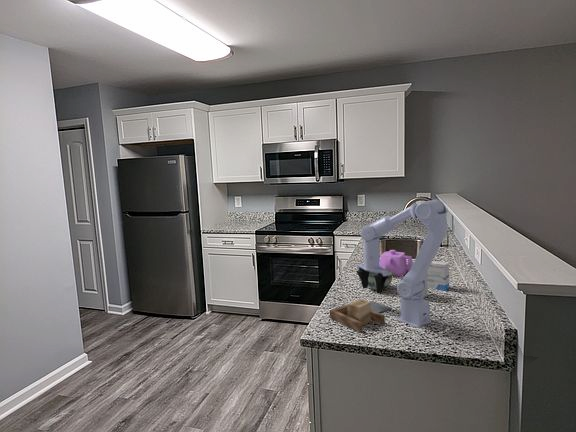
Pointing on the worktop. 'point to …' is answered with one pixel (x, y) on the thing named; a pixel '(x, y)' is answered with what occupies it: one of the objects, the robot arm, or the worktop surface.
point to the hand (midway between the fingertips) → (372, 290)
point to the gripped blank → (360, 310)
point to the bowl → (373, 283)
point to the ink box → (438, 275)
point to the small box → (425, 287)
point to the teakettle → (395, 262)
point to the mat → (378, 307)
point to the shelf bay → (356, 325)
